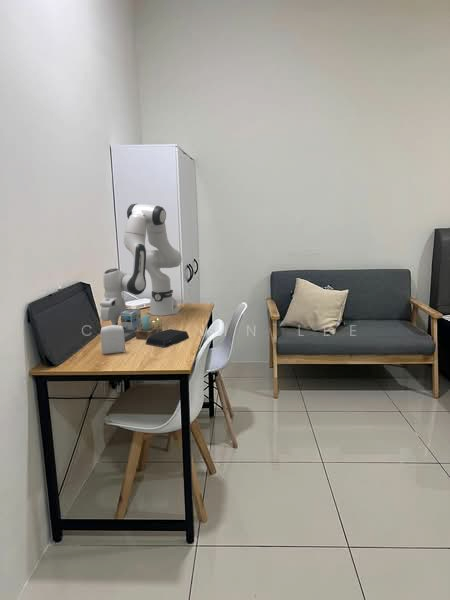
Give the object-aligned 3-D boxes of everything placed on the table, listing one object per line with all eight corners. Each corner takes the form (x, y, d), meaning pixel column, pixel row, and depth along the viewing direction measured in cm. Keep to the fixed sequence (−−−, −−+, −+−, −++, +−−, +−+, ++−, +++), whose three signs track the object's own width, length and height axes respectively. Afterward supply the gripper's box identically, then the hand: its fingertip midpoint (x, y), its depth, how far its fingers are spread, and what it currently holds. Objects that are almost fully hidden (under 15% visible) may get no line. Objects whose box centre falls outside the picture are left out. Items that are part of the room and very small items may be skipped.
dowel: (145, 336, 230) (144, 314, 227) (151, 336, 229) (150, 315, 227) (142, 338, 226) (140, 316, 224) (148, 338, 225) (147, 316, 223)
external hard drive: (144, 344, 216) (143, 336, 215) (169, 335, 232) (169, 327, 231) (165, 348, 209) (165, 340, 208) (190, 338, 225) (190, 330, 224)
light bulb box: (132, 333, 235) (131, 313, 233) (121, 332, 237) (119, 312, 235) (141, 328, 245) (140, 308, 243) (130, 327, 247) (129, 308, 245)
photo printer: (101, 354, 201) (99, 327, 198) (101, 351, 205) (99, 325, 202) (125, 352, 203) (124, 325, 201) (125, 349, 207) (123, 323, 205)
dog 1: (153, 333, 235) (152, 319, 234) (159, 333, 234) (158, 320, 233) (150, 334, 232) (150, 321, 231) (156, 335, 231) (156, 321, 230)
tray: (122, 333, 235) (122, 328, 235) (138, 334, 233) (138, 329, 232) (109, 340, 222) (108, 335, 222) (125, 341, 220) (125, 336, 219)
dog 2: (157, 330, 240) (156, 317, 238) (163, 330, 239) (162, 317, 238) (154, 332, 237) (154, 319, 235) (160, 332, 236) (160, 319, 235)
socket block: (143, 334, 232) (142, 327, 231) (157, 335, 230) (157, 327, 229) (135, 338, 225) (135, 331, 224) (150, 339, 223) (150, 331, 222)
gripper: (117, 296, 249) (119, 320, 252) (97, 303, 230) (99, 330, 233) (128, 296, 248) (129, 321, 250) (109, 303, 228) (110, 330, 231)
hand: (115, 325), depth 241 cm, fingers closed
